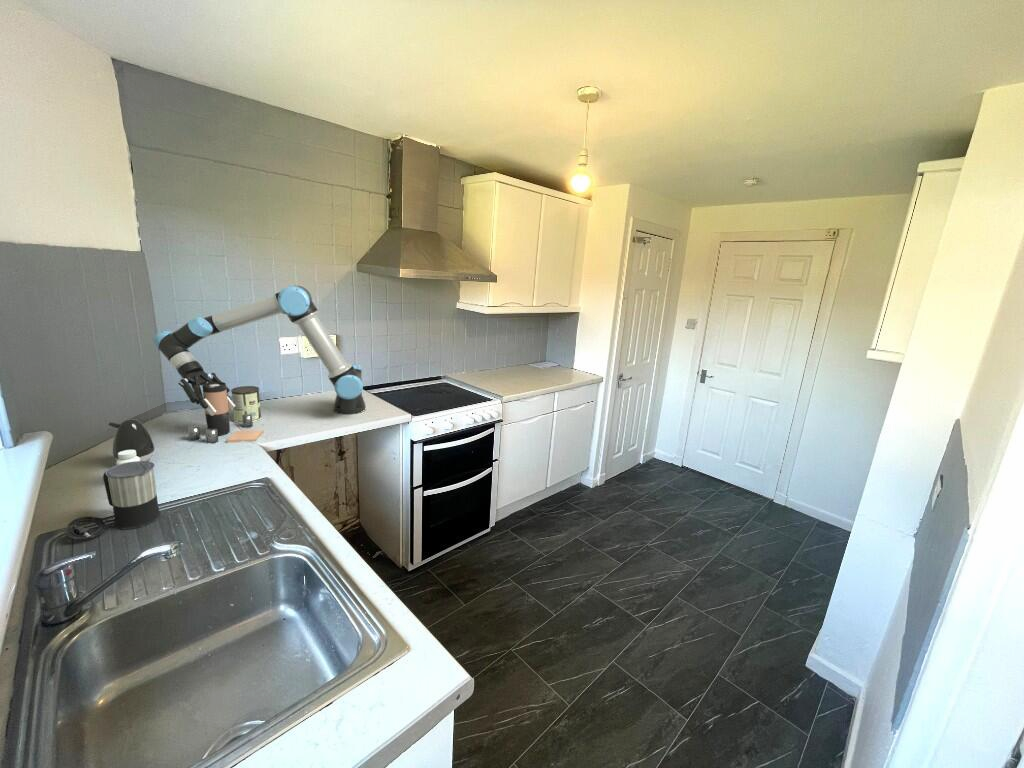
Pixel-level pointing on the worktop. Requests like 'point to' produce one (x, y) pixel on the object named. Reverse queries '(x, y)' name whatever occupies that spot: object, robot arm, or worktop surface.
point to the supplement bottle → (127, 457)
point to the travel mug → (217, 406)
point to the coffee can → (246, 402)
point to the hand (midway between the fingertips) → (223, 410)
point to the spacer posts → (215, 430)
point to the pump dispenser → (132, 439)
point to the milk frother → (124, 500)
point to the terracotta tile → (245, 436)
